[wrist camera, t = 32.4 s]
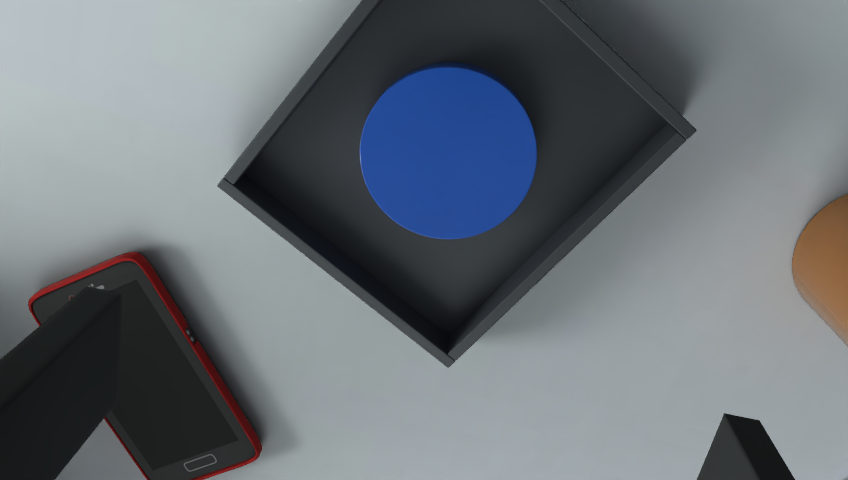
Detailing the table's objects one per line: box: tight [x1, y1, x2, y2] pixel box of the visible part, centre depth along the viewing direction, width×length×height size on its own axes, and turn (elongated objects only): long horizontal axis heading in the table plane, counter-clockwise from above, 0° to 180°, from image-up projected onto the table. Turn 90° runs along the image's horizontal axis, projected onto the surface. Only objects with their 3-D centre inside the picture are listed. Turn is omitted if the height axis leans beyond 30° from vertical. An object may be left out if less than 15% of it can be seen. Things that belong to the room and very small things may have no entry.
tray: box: [218, 0, 696, 367], centre depth 36 cm, size 17×15×3 cm
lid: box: [360, 62, 537, 239], centre depth 35 cm, size 9×8×2 cm
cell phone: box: [28, 252, 262, 480], centre depth 42 cm, size 8×15×1 cm, turn 24°
